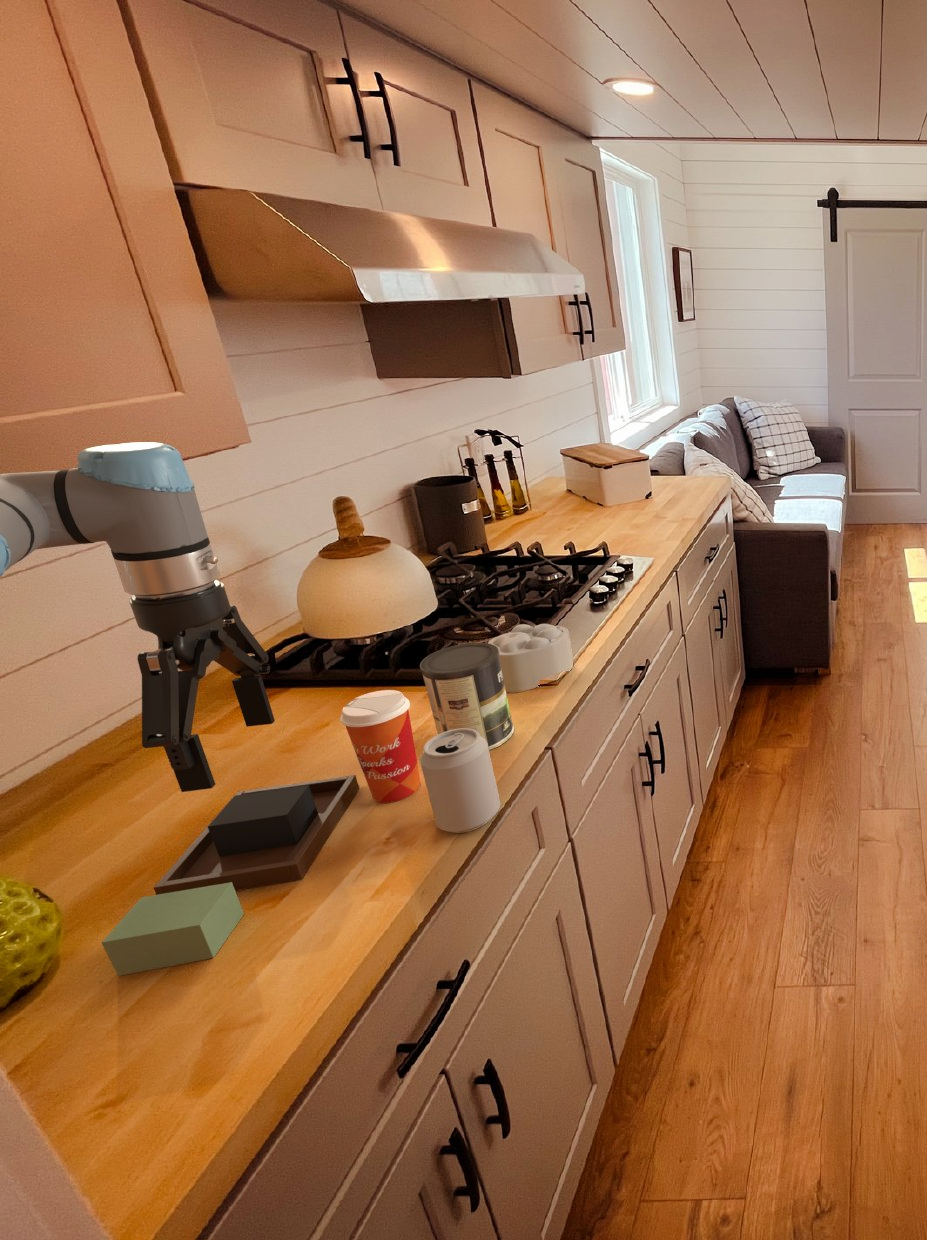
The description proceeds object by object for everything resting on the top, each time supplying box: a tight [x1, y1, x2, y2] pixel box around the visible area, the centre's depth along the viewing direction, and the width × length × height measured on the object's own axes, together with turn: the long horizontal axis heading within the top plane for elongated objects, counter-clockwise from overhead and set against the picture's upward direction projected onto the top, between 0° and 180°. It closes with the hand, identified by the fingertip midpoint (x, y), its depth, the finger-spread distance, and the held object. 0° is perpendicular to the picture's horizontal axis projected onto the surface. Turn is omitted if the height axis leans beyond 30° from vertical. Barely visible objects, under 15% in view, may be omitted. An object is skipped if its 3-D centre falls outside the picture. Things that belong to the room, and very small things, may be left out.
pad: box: [101, 882, 245, 977], centre depth 75 cm, size 8×6×4 cm
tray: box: [153, 774, 360, 895], centre depth 90 cm, size 14×18×2 cm
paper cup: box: [339, 689, 421, 804], centre depth 98 cm, size 8×8×14 cm
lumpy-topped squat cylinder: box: [487, 623, 574, 694], centre depth 130 cm, size 10×13×9 cm
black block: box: [207, 785, 318, 857], centre depth 90 cm, size 8×6×4 cm
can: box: [419, 728, 501, 834], centre depth 93 cm, size 8×8×12 cm
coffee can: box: [419, 642, 515, 751], centre depth 110 cm, size 10×10×14 cm
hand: (232, 754), depth 85 cm, fingers open, 13 cm apart
